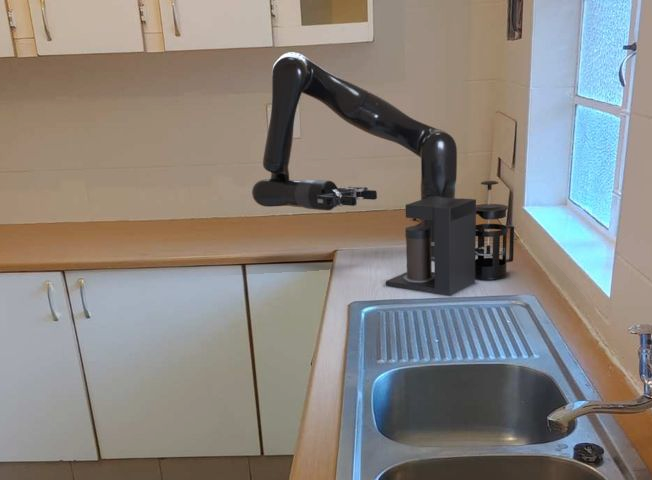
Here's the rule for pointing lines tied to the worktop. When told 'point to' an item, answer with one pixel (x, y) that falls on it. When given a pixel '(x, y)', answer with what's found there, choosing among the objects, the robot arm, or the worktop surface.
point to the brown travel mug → (418, 252)
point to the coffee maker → (446, 245)
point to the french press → (494, 265)
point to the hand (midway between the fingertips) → (366, 198)
